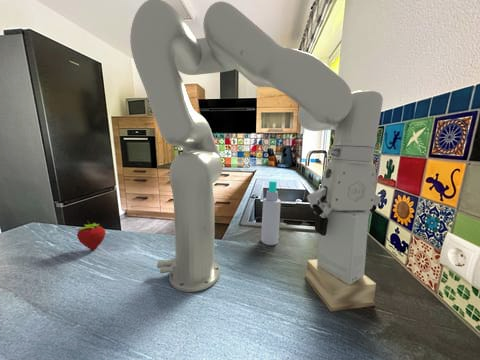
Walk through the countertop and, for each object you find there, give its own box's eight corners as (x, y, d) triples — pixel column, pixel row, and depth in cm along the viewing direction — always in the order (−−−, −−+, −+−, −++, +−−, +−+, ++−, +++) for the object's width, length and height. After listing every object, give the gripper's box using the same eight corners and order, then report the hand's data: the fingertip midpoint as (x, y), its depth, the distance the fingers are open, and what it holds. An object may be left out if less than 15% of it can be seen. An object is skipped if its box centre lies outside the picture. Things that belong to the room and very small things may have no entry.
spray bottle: (259, 237, 70) (262, 179, 66) (275, 237, 70) (279, 180, 67) (262, 245, 64) (265, 182, 60) (280, 245, 64) (284, 182, 61)
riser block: (330, 311, 38) (333, 289, 37) (304, 277, 48) (306, 259, 47) (374, 305, 40) (377, 284, 39) (340, 274, 50) (342, 256, 49)
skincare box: (364, 277, 41) (373, 212, 39) (348, 287, 38) (357, 217, 36) (329, 258, 48) (335, 202, 46) (313, 265, 45) (319, 205, 43)
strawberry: (97, 256, 55) (93, 223, 53) (72, 254, 55) (69, 222, 54) (111, 246, 61) (109, 216, 59) (89, 244, 61) (86, 215, 60)
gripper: (325, 154, 34) (313, 241, 37) (403, 159, 37) (387, 239, 40) (304, 153, 41) (296, 226, 44) (371, 157, 44) (359, 225, 47)
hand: (339, 232), depth 42 cm, fingers open, 9 cm apart
